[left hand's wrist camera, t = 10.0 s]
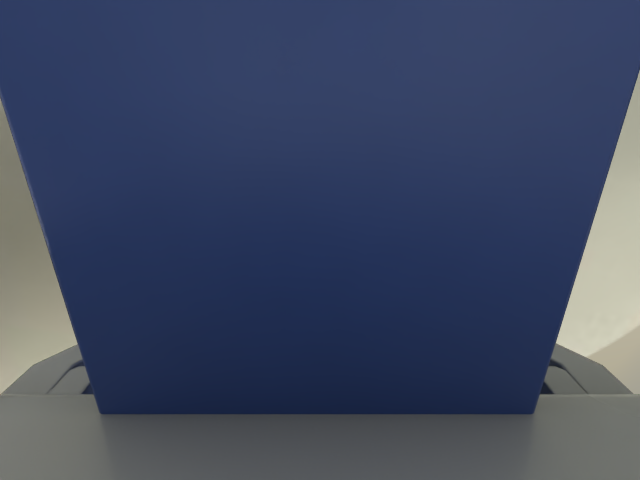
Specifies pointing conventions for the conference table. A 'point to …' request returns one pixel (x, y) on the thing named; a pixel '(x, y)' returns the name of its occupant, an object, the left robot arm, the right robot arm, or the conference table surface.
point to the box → (317, 192)
